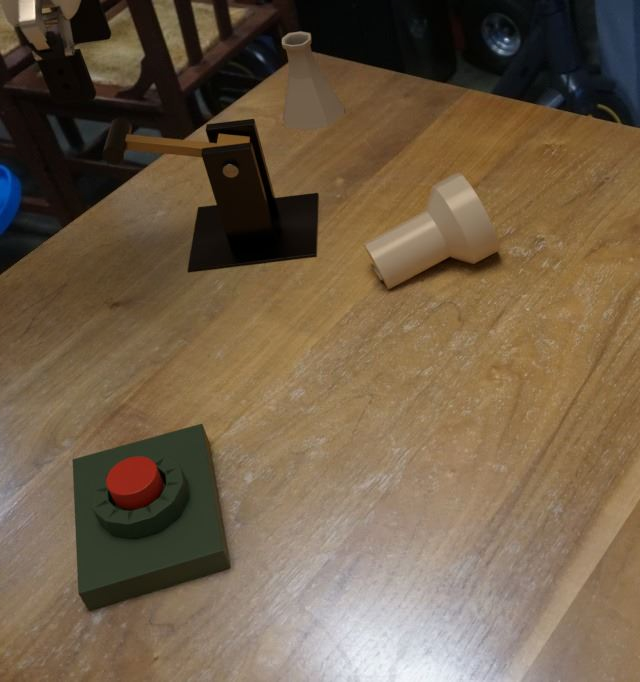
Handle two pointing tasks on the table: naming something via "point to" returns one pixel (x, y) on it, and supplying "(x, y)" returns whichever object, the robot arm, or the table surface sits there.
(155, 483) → the button
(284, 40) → the flask
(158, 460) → the control box
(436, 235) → the spotlight
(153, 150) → the hammer
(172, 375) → the table surface
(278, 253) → the bracket
